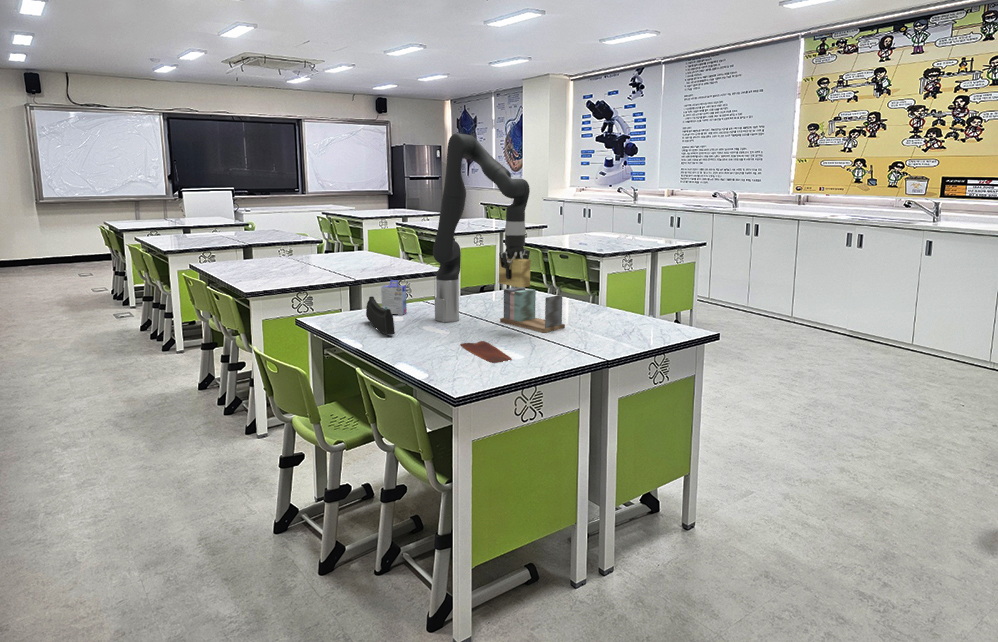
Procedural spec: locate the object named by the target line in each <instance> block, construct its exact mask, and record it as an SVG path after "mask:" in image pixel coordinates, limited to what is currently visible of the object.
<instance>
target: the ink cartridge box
mask: <svg viewBox="0 0 998 642" xmlns="http://www.w3.org/2000/svg"><path fill="white" fill-rule="evenodd" d="M394 282H395V283H394ZM380 292H381V293H380V294H381V296H380V298H381V301H380V302H381V307H382V308H384V309H390V310H391V313H392V314H398V315H397V316H403V314H404V315H406V314H407V312H408V311H407V285H399V280H396V279H390V282H389V285H387V284H386V285H383V286H381V287H380ZM405 313H406V314H405Z"/></svg>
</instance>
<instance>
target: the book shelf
mask: <svg viewBox="0 0 998 642" xmlns="http://www.w3.org/2000/svg"><path fill="white" fill-rule="evenodd" d="M536 293H537V291H536V289H533V288H529V289H528V288H526V287H521V288H520V287H510V288H504V289H503V317H500V318H499V319H500V323H503V324H506V325H512V326H514V327H518V328H523V329H526V330H531V331H535V332H537V333H538V332H539V333H548V332H552V331H553V332H554V331H558V330H562V329H563V330H564V329H565V328H566V324H564V323H563V322H562V321H563V294H559V295H553V296H547V297H545V302H544V303H545V306H544V308H545V309H544V319H542V318H538V317H536V300H537V299H536Z"/></svg>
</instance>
